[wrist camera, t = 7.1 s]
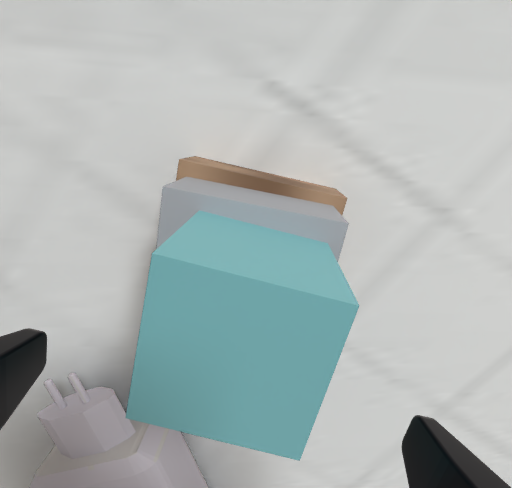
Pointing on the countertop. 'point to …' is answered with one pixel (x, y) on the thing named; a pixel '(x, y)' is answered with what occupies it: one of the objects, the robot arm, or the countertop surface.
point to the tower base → (259, 181)
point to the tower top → (249, 211)
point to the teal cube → (240, 334)
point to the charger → (109, 446)
